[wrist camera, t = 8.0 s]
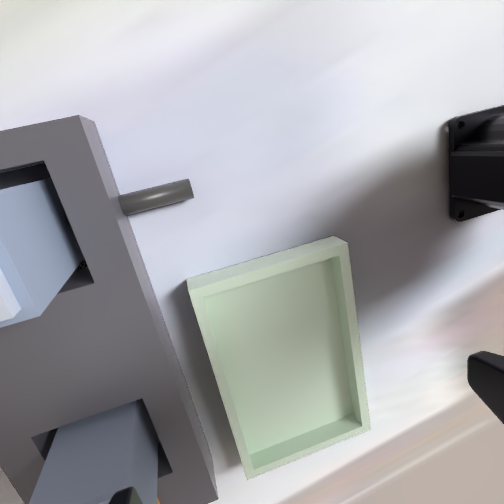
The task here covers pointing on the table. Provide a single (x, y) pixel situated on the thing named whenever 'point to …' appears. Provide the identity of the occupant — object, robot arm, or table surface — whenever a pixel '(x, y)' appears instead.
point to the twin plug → (51, 242)
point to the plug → (101, 458)
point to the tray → (285, 351)
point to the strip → (93, 330)
